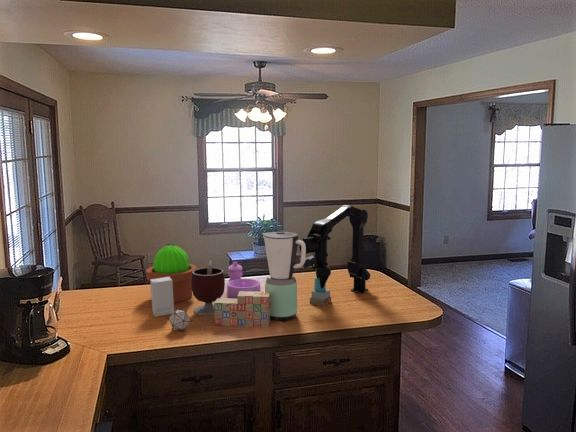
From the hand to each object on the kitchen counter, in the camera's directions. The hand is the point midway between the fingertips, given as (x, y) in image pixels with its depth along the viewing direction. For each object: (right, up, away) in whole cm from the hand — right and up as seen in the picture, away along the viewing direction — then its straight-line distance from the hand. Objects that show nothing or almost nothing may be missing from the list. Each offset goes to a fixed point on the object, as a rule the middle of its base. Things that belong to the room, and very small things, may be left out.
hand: (320, 285), depth 217 cm
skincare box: (-66, -10, -13) cm, 68 cm away
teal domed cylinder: (0, -2, 0) cm, 2 cm away
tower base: (0, -8, +1) cm, 9 cm away
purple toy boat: (-37, -6, +15) cm, 40 cm away
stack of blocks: (-32, -12, -24) cm, 42 cm away
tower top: (0, -5, +1) cm, 5 cm away
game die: (-55, -13, -30) cm, 65 cm away
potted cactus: (-68, -7, +9) cm, 69 cm away
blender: (-17, -11, -16) cm, 26 cm away
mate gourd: (-48, -10, -8) cm, 49 cm away
